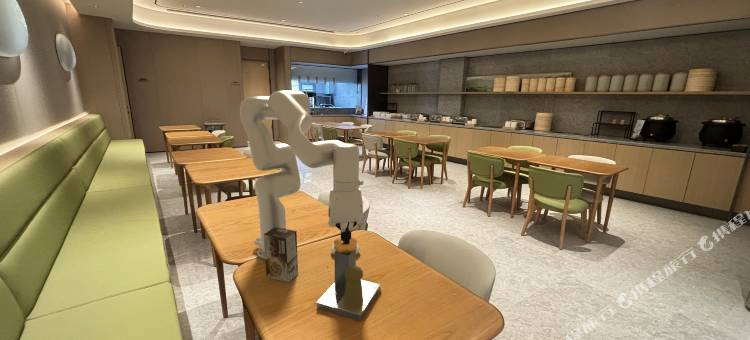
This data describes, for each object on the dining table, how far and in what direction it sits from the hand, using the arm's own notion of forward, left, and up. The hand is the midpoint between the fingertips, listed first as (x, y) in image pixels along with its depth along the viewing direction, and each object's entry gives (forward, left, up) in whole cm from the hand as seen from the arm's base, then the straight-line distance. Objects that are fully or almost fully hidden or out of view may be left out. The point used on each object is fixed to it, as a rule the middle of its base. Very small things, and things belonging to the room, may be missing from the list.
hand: (345, 241), depth 99 cm
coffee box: (-24, -1, -17) cm, 29 cm away
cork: (+6, -7, -15) cm, 18 cm away
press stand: (+3, -3, -17) cm, 18 cm away
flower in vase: (-11, +23, -17) cm, 30 cm away
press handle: (0, 0, -13) cm, 13 cm away
